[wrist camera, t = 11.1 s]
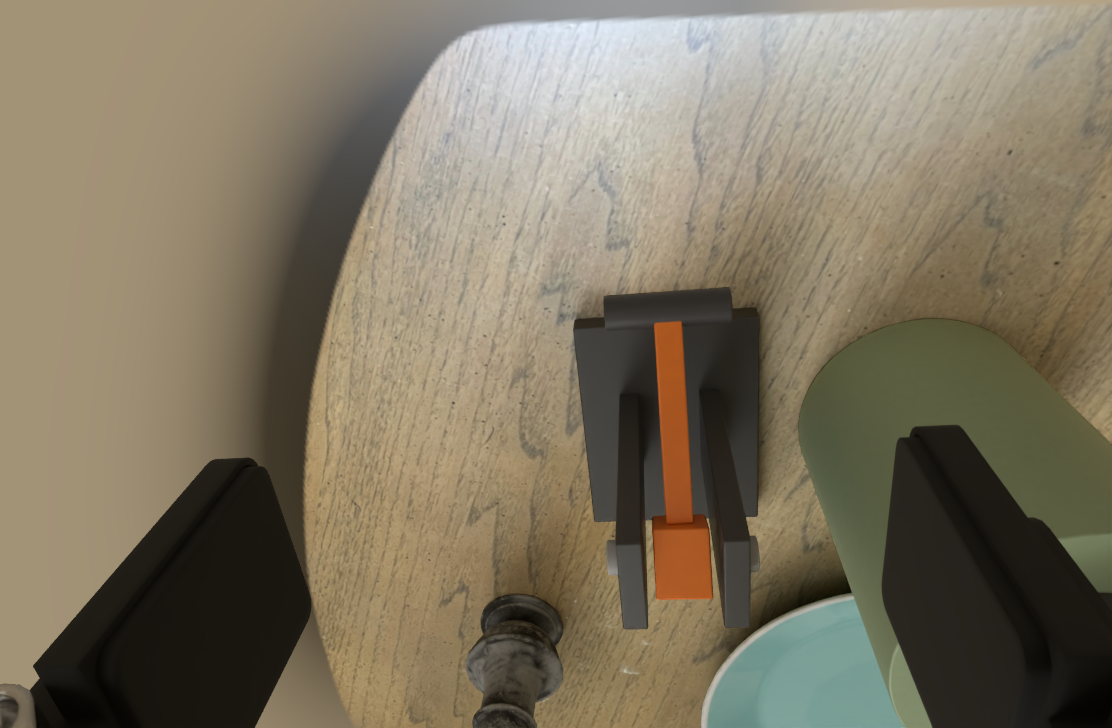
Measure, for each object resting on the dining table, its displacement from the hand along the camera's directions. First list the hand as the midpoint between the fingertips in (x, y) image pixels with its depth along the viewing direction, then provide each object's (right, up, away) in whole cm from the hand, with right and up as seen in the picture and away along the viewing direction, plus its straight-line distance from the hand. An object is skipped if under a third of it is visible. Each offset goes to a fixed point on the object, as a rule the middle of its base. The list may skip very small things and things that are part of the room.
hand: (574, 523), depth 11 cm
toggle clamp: (+6, 0, +29) cm, 30 cm away
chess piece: (-2, -14, +37) cm, 40 cm away
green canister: (+18, -1, +28) cm, 33 cm away
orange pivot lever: (+5, -1, +21) cm, 21 cm away
